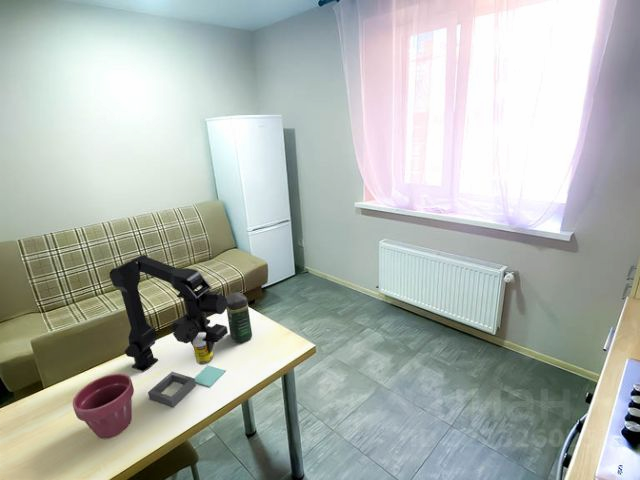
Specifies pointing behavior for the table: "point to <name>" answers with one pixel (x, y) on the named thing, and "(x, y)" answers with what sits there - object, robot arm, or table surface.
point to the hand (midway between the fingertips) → (203, 350)
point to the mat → (209, 376)
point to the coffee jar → (238, 317)
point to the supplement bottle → (201, 350)
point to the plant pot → (106, 405)
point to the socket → (157, 390)
